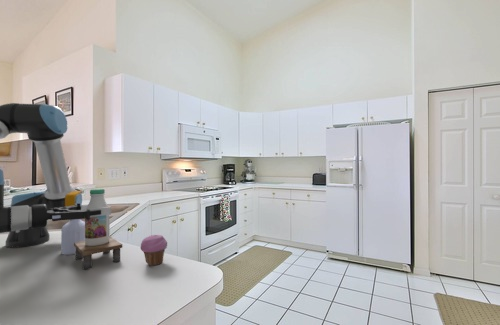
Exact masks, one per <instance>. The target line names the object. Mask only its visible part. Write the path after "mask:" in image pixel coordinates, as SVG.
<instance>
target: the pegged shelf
mask: <svg viewBox="0 0 500 325" xmlns="http://www.w3.org/2000/svg"><path fill="white" fill-rule="evenodd" d="M74 246H75V248H76V254H75V260H76V261H78V260H82V264H83V266H82V269H83V270H85V271H88V270H91V269H92V266H93V264H92V263H93V262H92V261H93V259H92V258H93V257H92V256H93V255H95V254H99V253H102V254H104V255H105V254H110V253H111V251H112V262H113V263H119V262H120V261H121V249H123V243H121V242H120V241H118V240H117V239H116V238H113V237H112V236H110V240H109V242H108V243H106V244H103V245H98V246H86V245H85V241H80V242H75V243H74Z"/></svg>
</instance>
